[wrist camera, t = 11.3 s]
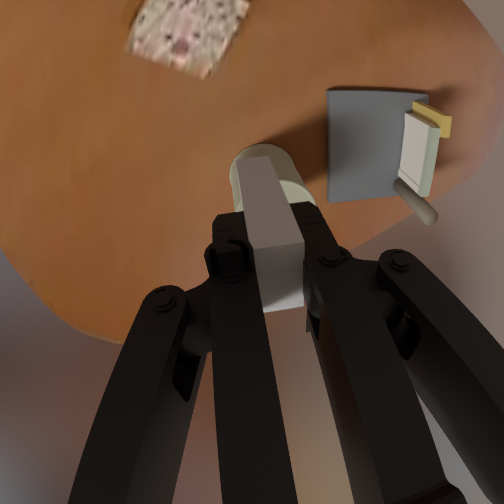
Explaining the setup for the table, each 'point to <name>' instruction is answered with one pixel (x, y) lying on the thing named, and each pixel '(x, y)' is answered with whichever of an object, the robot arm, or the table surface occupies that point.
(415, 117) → the white framed panel
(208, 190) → the table surface
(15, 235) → the table surface
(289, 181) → the can
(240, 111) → the table surface
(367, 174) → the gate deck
